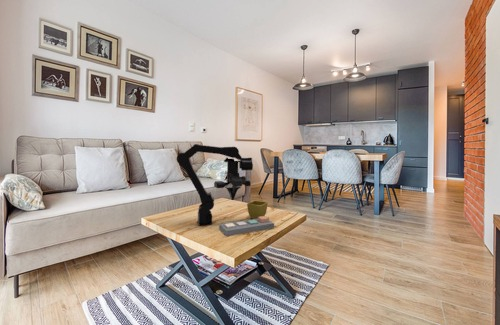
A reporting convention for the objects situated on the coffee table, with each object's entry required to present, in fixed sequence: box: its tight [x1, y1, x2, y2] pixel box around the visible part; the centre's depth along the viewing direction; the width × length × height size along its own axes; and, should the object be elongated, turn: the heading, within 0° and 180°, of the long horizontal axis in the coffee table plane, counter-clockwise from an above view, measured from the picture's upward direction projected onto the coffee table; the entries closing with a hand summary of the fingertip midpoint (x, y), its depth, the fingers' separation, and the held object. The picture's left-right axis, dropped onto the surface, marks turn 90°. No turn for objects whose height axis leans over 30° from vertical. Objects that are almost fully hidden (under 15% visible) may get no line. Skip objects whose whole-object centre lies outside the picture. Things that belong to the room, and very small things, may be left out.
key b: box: [235, 220, 247, 227], centre depth 110 cm, size 4×4×3 cm
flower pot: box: [246, 200, 268, 220], centre depth 127 cm, size 9×9×9 cm
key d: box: [258, 215, 270, 223], centre depth 115 cm, size 4×4×3 cm
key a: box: [224, 222, 235, 228], centre depth 107 cm, size 4×4×3 cm
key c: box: [247, 219, 258, 225], centre depth 112 cm, size 4×4×3 cm
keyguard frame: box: [218, 219, 275, 237], centre depth 111 cm, size 25×10×2 cm, turn 116°
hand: (232, 199), depth 120 cm, fingers closed
